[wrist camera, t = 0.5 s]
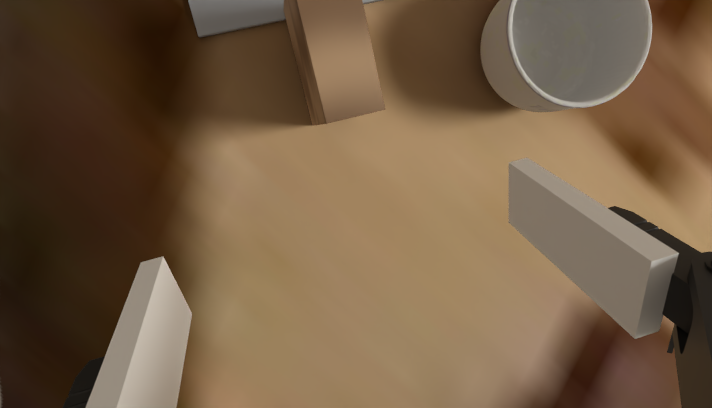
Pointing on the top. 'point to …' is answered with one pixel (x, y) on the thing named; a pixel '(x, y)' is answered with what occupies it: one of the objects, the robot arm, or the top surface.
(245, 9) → the felt mat
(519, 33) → the teacup
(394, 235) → the top surface
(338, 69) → the walnut slab
